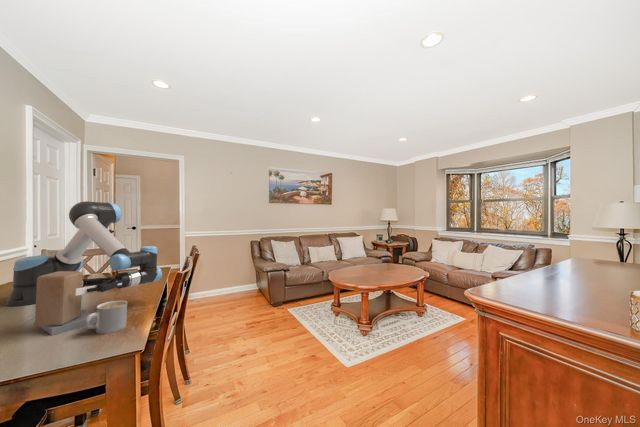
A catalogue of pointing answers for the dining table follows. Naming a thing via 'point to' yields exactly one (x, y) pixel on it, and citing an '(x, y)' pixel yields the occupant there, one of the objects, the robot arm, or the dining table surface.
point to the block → (58, 298)
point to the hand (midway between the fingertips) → (69, 289)
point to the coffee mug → (109, 317)
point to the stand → (69, 324)
